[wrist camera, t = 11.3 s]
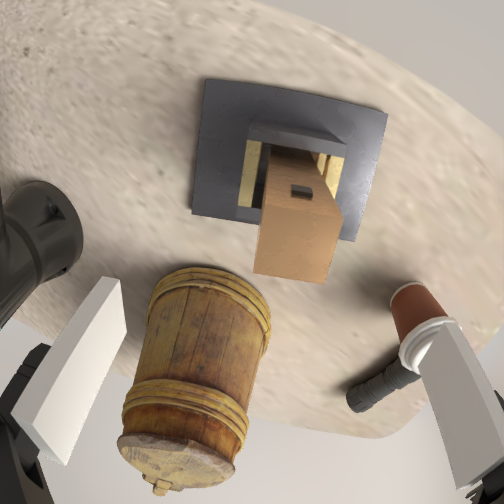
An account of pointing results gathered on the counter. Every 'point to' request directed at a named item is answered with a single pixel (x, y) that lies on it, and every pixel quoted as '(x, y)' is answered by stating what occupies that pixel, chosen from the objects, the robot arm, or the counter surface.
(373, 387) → the flashlight
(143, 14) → the counter surface
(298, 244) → the tapered wooden post
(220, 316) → the tankard
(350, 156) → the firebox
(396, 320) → the coffee cup
